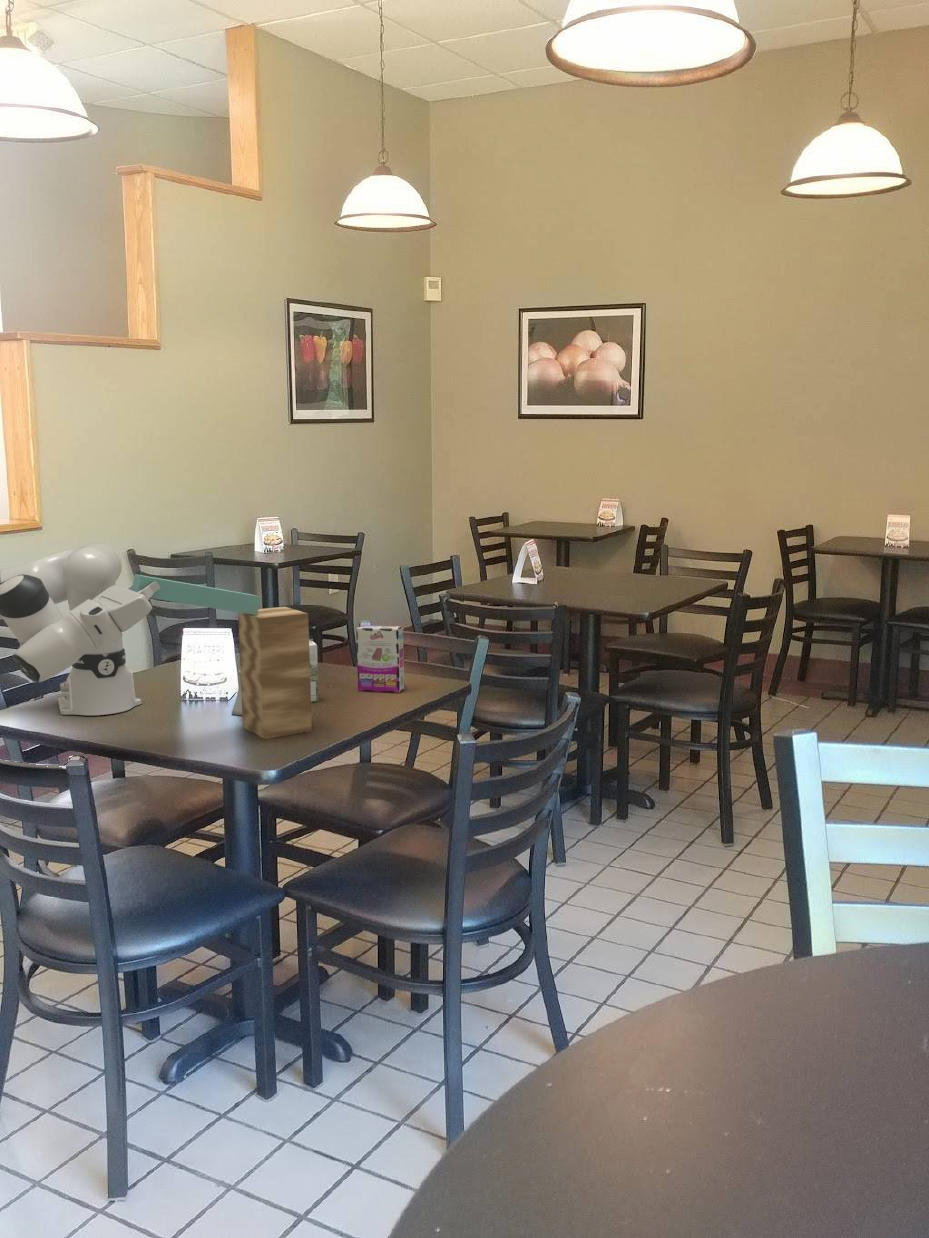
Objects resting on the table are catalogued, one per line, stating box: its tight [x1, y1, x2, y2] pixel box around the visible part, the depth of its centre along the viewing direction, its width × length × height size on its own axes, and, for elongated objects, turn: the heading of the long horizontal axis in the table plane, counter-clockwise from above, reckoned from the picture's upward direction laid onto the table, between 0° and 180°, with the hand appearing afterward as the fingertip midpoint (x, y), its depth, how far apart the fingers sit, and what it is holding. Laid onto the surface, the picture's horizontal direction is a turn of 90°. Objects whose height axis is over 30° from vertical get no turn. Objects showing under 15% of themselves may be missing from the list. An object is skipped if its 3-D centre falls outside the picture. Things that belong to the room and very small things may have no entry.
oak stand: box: [237, 606, 313, 740], centre depth 238 cm, size 12×11×26 cm
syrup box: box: [309, 640, 319, 703], centre depth 265 cm, size 6×6×14 cm
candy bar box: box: [355, 625, 406, 694], centre depth 275 cm, size 11×5×16 cm, turn 76°
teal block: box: [132, 573, 262, 615], centre depth 226 cm, size 4×26×4 cm, turn 124°
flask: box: [231, 669, 242, 716], centre depth 254 cm, size 7×7×10 cm
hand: (153, 582), depth 220 cm, fingers closed on teal block, 4 cm apart
